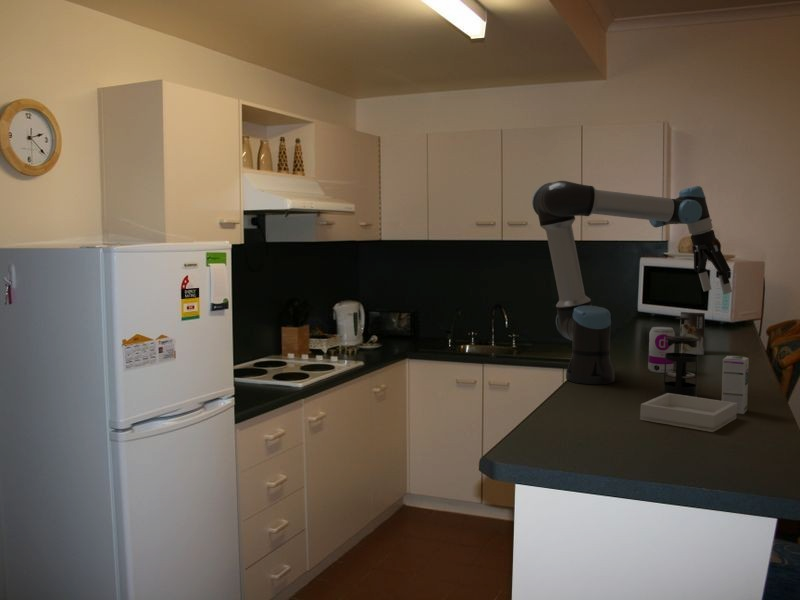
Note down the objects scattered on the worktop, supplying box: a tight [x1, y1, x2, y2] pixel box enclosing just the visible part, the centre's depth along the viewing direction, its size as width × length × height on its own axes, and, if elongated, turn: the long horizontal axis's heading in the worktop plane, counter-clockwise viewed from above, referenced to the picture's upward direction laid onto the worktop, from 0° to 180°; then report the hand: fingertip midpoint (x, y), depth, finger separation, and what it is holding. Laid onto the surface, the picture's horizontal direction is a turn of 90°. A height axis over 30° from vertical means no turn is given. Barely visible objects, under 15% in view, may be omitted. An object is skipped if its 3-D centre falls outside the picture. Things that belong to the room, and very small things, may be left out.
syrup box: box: [721, 355, 750, 415], centre depth 200 cm, size 6×6×14 cm
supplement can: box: [647, 326, 676, 374], centre depth 258 cm, size 8×8×15 cm
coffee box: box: [678, 311, 706, 356], centre depth 297 cm, size 9×6×16 cm
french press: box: [662, 316, 699, 397], centre depth 219 cm, size 12×9×23 cm
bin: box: [639, 393, 737, 433], centre depth 192 cm, size 18×18×4 cm
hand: (717, 291), depth 256 cm, fingers open, 13 cm apart
